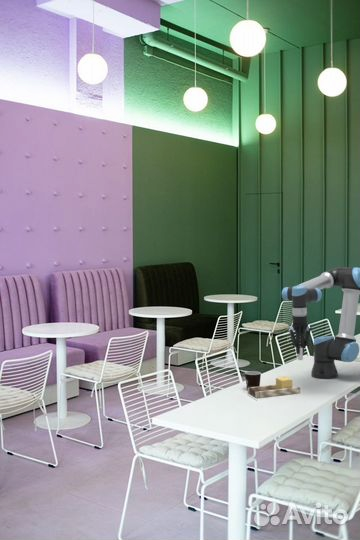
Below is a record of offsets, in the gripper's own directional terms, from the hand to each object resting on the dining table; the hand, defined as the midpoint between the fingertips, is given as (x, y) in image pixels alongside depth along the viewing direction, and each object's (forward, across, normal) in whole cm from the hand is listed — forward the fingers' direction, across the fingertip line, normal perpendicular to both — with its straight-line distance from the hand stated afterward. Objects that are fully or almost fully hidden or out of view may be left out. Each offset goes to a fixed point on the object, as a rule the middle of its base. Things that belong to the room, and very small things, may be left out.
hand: (300, 359), depth 328 cm
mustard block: (+16, -10, 0) cm, 19 cm away
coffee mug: (+18, -21, +14) cm, 31 cm away
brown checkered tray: (+18, -16, 0) cm, 24 cm away
